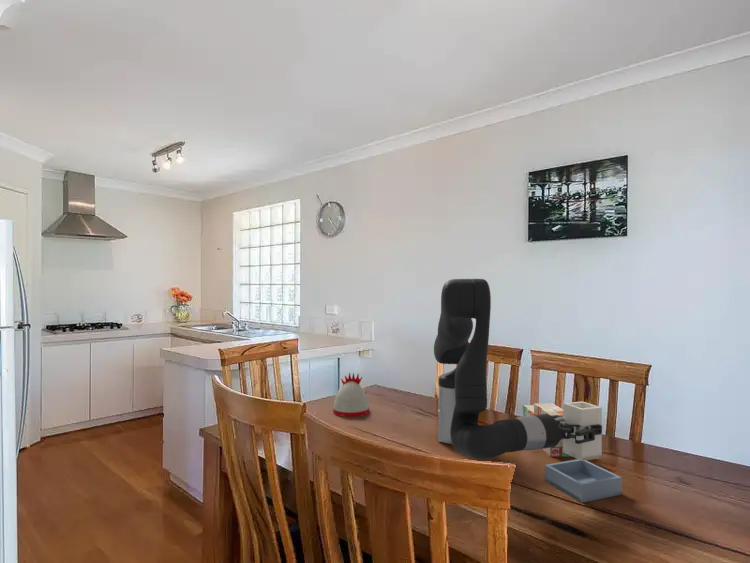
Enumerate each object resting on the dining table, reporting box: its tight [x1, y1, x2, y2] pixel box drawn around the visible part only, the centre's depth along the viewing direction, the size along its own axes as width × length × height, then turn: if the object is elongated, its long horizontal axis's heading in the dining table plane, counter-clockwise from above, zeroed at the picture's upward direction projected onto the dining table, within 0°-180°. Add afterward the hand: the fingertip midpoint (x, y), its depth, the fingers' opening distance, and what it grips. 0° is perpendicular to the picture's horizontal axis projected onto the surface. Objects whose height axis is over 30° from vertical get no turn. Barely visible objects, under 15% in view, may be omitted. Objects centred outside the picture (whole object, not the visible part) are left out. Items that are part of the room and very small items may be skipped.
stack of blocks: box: [522, 402, 572, 458], centre depth 139 cm, size 21×6×12 cm, turn 2°
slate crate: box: [544, 458, 623, 503], centre depth 109 cm, size 12×12×4 cm
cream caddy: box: [562, 401, 603, 461], centre depth 109 cm, size 6×6×12 cm
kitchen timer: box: [332, 372, 370, 418], centre depth 173 cm, size 14×14×15 cm
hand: (589, 425), depth 110 cm, fingers closed on cream caddy, 6 cm apart
